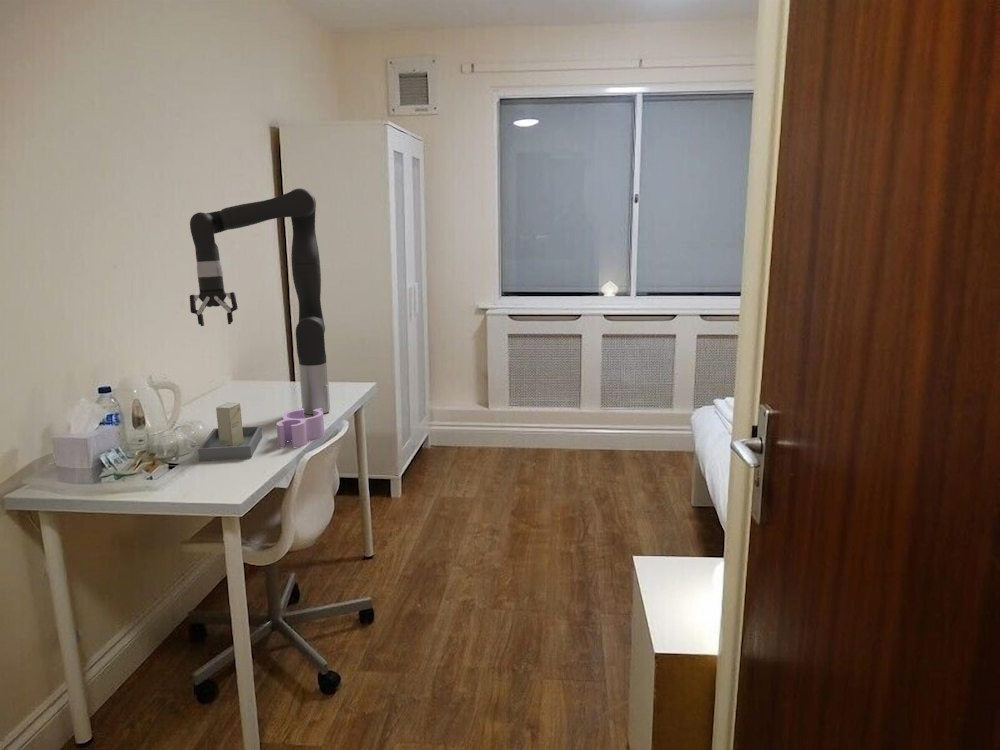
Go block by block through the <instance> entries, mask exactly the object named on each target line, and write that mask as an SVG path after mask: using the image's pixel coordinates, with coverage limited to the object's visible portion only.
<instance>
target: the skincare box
mask: <svg viewBox="0 0 1000 750" xmlns="http://www.w3.org/2000/svg"><path fill="white" fill-rule="evenodd" d="M241 409H242V408H241V403H240V402H226V403H223V404H221V405H219V406H216V407H215V410H216V412H215V413H216V419H217V421H216V422H217V428H218V432H219V442H220V447H229V446H237V445H239V444H241V443H243V442H244V439H243V429H242V427H243V422H242V419H243V418H242V410H241Z"/></svg>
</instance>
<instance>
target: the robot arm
mask: <svg viewBox="0 0 1000 750" xmlns="http://www.w3.org/2000/svg"><path fill="white" fill-rule="evenodd" d="M316 208H317V200H316V197H315V195H314V194H313V193H312V192H310V191H309V190H307V189H305V188H301V187H300V188H295V189H292V190H291V191H288V192H287V193H283V194H282V195H278V196H276V197H273V198H270V199H269V198H268V199H265V200H261V201H253V202H247V203H241V204H238V205H231V206H227V207H224V208H222V209H221V210H216V211H212V212H206V213H205V212H196V213H194V214H193V215H192V216H191V218H190V221H189V229H190V234H191V237H192V241H193V244H194V248H195V259H196V275H197V281H198V289H199V294H190V295H189V305H190V307H189V308H190V314H195V315H197V323H198V325H200V327H204V326H205V320H204V315H203V312H204V311H205V309H206V308H207V307H208V308H212V307H220V306H221V307H222V308H223V309H224V310H225V311H226V312H227V313H226V317H227V324H228V325H232V323H233V322H234V317H233V312H234V311H237V310H238V304H237V303H238V302H237V297H236V296H237V295H236V293H235V292H234V291H231V292H226V291H225V285H224V277H223V276H224V275H223V270H222V265H221V261H220V252H219V246H218V245H217V243H216V240H215V235H216V234H218V233H222V232H225V231H229V230H234V229H241V228H245V227H249V226H253V225H256V224H259V223H262V222H263V223H264V222H266V221H270V220H275V219H280V218H290V220H291V226H292V243H291V258H290V259H291V260H290V261H291V270H292V271H291V272H292V280H293V283H294V289H295V293H296V296H297V299H298V323H297V325H296V328H295V340H296V341H295V342H296V354H297V359H298V370H299V382H300V383H299V384H300V395H301V408H303V409H304V413H305V414H304V415H311V414H313V410H315V409H319V408H322V409H323V414H327V412H329V413H330V411H331V410H330V409H331V401H330V386H329V385H330V384H329V380H328V378H329V377H328V365H327V353H326V345H325V332H326V325H325V321H324V317H323V311H322V303H321V302H322V301H321V295H322V293H321V292H322V291H321V289H322V277H321V275H322V274H321V261H320V252H319V246H318V240H317V235H316V211H317V210H316ZM226 298H228V299H229V300H230V302H231V306H232V307H230V306H229V305H228V303H227V302H226V301H225V300H226ZM198 299H199V300H200V301H201V302H202V303H201V305H200V306H199V308H198V309H197V305H196V302H197V301H198Z"/></svg>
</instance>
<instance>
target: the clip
mask: <svg viewBox="0 0 1000 750" xmlns="http://www.w3.org/2000/svg"><path fill="white" fill-rule="evenodd" d="M276 433H277V445H278V446H277V447H279V448H280V447H284V448H286V443H285V442H287V441H291V440H292V448H293V447H298V448H302V447H304V446H307V444H308V442H310V441H312V440H313V441H315V440H317V439H320V438H322V437H324V435H325V421H324V413H323V409H322V408H319V409H315V410H313V416H311V417H306V416H305V414H304V409H303V408H302V407H298V409H295V410H293V409H292V410H290V411H286V412H284V413H283V414H281V420H279V421H277V422H276ZM309 440H310V441H309ZM287 443H288V442H287ZM301 446H302V447H301Z"/></svg>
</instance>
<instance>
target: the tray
mask: <svg viewBox="0 0 1000 750" xmlns="http://www.w3.org/2000/svg"><path fill="white" fill-rule="evenodd" d="M242 429H243V439H244V442H243V443H241V444H239V445H237V446H229V447H220V442H219V432H218V427H217V428H213V429H212V430H211V432H210V433H209V434H208V436H207V437H206V438H205V439H204V441H203V442H202V444H200V446H199V447H198V448H197V451H198V461H199V462H205V461H222V460H224V461H225V460H240V459H252V457H253V455H254V454H255V452H256V450H257V448H258V446H259V444H260V443H261V440H262V438H263V429H262V425H259V426H242Z"/></svg>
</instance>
